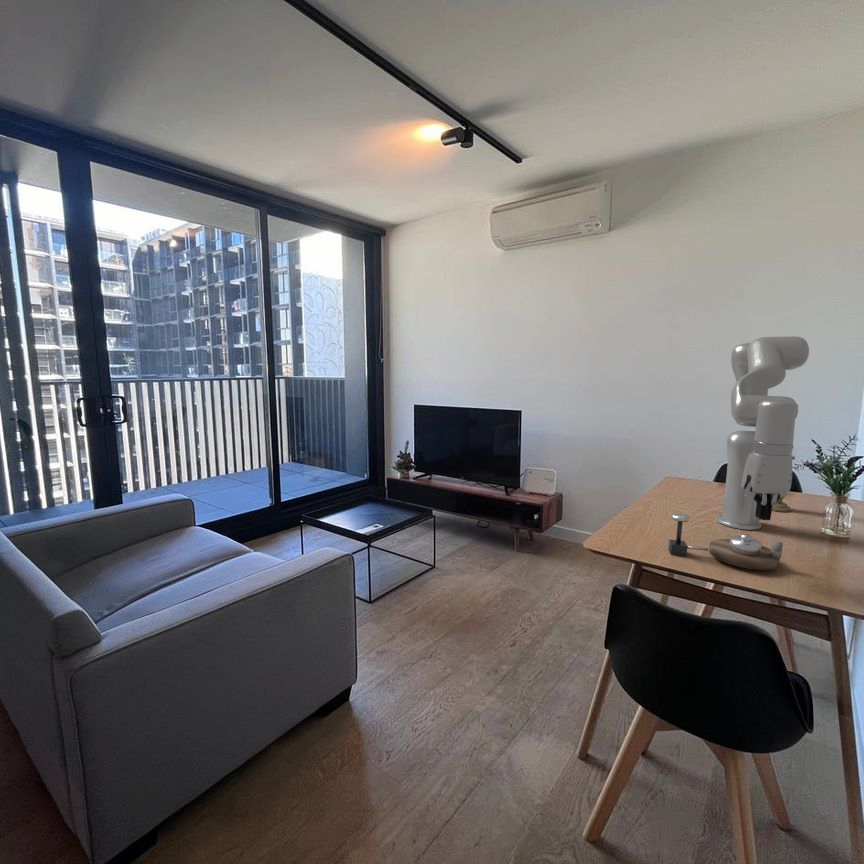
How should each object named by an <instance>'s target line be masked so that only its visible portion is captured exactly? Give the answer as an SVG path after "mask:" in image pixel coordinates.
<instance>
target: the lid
mask: <svg viewBox="0 0 864 864" xmlns="http://www.w3.org/2000/svg"><path fill="white" fill-rule="evenodd" d="M752 537H753V536H752V535H750V534H749V533H741V534H740V535H734V536H733V535H732V536H730V538H729V539H730V547H729V549H730V550H731V551H732V552H734V553H737V554H740V555H744V556H752V557H755V556H759V555H760V552H761V546H762V542H761V541H760V540H758V539H755V538H752Z"/></svg>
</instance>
